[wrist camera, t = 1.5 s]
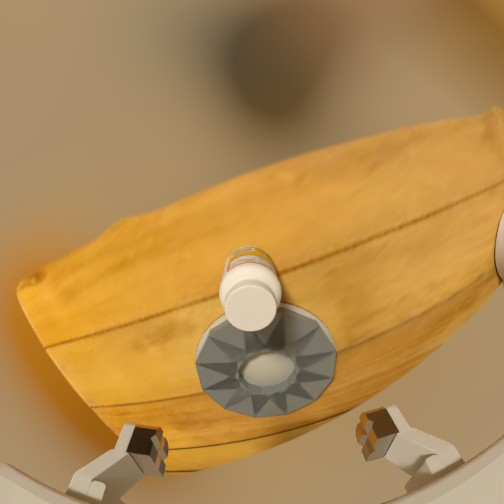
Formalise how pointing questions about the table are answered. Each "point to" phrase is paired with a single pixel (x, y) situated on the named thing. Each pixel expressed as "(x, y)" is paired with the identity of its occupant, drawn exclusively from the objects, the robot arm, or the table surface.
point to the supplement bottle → (250, 289)
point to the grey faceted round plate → (267, 363)
